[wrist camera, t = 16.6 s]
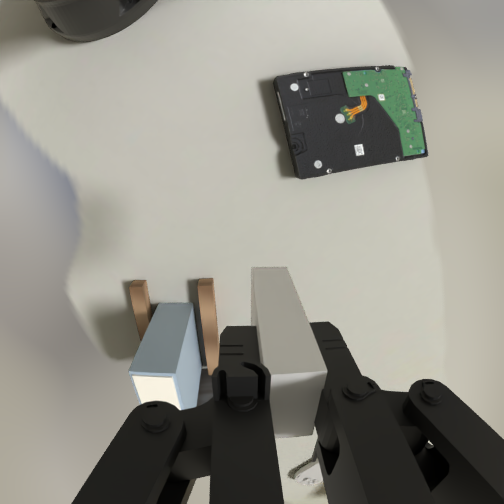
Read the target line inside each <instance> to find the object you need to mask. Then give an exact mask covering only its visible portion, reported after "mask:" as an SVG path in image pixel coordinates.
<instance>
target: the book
mask: <svg viewBox="0 0 504 504" xmlns="http://www.w3.org/2000/svg"><path fill="white" fill-rule="evenodd" d="M201 368H202V362H201V355H200V349H199V342H198V335H197V327H196V320H195V312H194V304H193V303H159V304H158V306H157V308H156V311H155V313H154V315H153V317H152V319H151V321H150V323H149V326H148V328H147V330H146V332H145V334H144V337H143V339H142V341H141V343H140V346H139V348H138V350H137V352H136V355H135V357H134V359H133V362H132V364H131V367H130V369H129V371H128V372H129V375H130V377H131V380H132V383H133V386H134V389H135V392H136V395H137V397H138V400H139V403H140V405H141V404H143V403H145V402H150V401H165V402H168V403H170V404H173V405H175V406H176V407H177V408H178V409H179V410H184V409H189V408H194V407H196V406H197V399H198V391H199V383H200V376H201Z"/></svg>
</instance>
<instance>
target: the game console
mask: <svg viewBox="0 0 504 504" xmlns="http://www.w3.org/2000/svg"><path fill="white" fill-rule="evenodd" d="M294 478H295V481H296V482H297V483H299V484H303V485H316V484H319V483H321V482H323V477H322V473H321V469H320V465H319V461H318V458H317V459H316V462H310V463H308V464H307V465H305V466H303V467H302V468H300V469H299V471H297V472H296V473H295V475H294Z"/></svg>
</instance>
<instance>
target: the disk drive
mask: <svg viewBox="0 0 504 504" xmlns="http://www.w3.org/2000/svg"><path fill="white" fill-rule="evenodd" d="M410 75H412V74H411V73H410V70H407V68H406V67H395V66H390V65H389V66H371V67H350V68H339V69H327V70H318V71H310V72H297V73H292V74H289V75H283V76H277V77H276V78H275V80H274V82H273V84H274V88H275V91H276V95H277V99H278V104H279V108H280V111H281V115H282V119H283V124H284V128H285V132H286V136H287V141H288V145H289V149H290V154H291V158H292V161H293V166H294V171H295V175H296V177H297V178H299V179H306V178H312V177H319V176H324V175H327V174H331V173H337V172H342V171H347V170H352V169H357V168H363V167H368V166H374V165H379V164H386V163H392V162H398V161H406V160H413V159H416V158H423V157H427V156H428V150H427V143H426V137H425V132H424V127H423V123H422V121H423V120H422V115H421V110H420V109H417V107H418V103H417V98H415V96H416V94H415V90H414V87H413V83H412V79H411V78H410Z"/></svg>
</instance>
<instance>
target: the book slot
mask: <svg viewBox="0 0 504 504" xmlns="http://www.w3.org/2000/svg"><path fill="white" fill-rule="evenodd" d="M197 287H198V296H199V305H200V314H201V322H202V330H203V338H204V346H205V353H206V360H207V367H208V369H201V376H200V383H199V391H198V399H197V406H200V405H202V404H204V403H206V402H208V401H209V400H210V399H211V398H212V397H213V389H212V379H211V376H212V374H213V371H214V369H215V368H216V367H217V366H218V361H219V337H218V327H217V316H216V305H215V293H214V281H213V278H210V279H199V282H198V286H197ZM129 291H130V296H131V301H132V306H133V310H134V315H135V319H136V324H137V328H138V332H139V336H140V340H141V341H142V339H143V337H144V334H145V332H146V330H147V328H148V326H149V323H150V321H151V319H152V317H153V315H152V310H151V305H150V299H149V294H148V288H147V282H146V280H134V281H133V282H132V284H131V285H130V286H129ZM197 406H196V407H197Z"/></svg>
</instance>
